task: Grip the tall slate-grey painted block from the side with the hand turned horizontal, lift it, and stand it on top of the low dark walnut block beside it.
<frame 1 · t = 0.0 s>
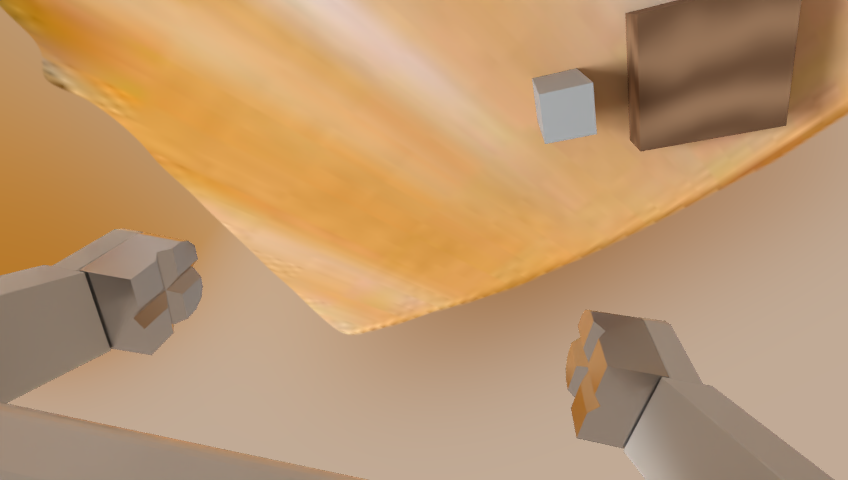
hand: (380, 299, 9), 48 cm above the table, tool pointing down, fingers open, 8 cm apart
walnut block: (694, 65, 48), on the table
slate block: (556, 95, 52), on the table
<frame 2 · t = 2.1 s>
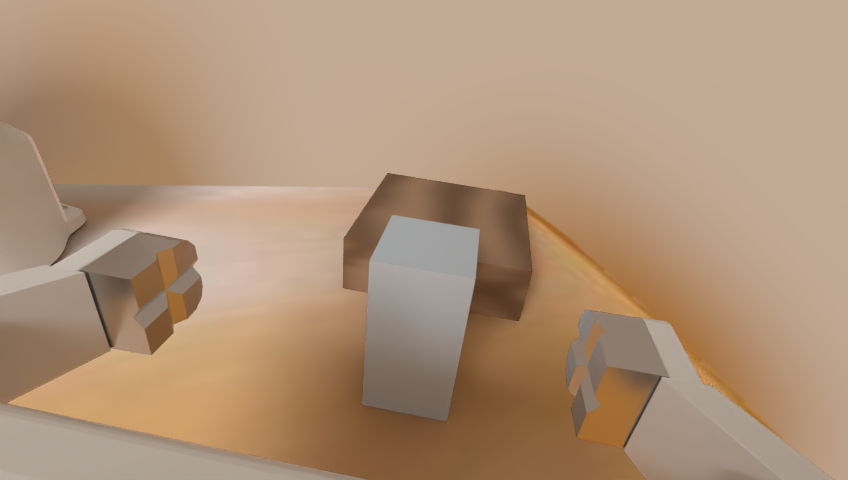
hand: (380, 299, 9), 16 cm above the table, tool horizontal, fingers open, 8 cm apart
walnut block: (440, 261, 40), on the table
slate block: (411, 380, 27), on the table
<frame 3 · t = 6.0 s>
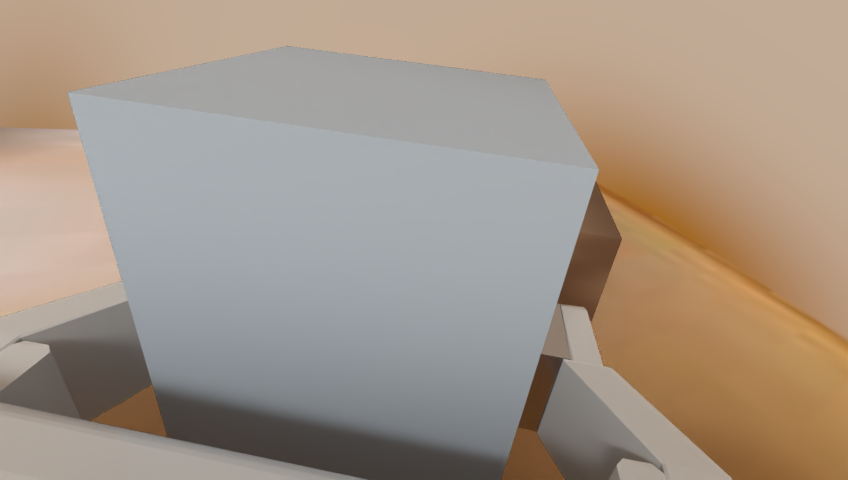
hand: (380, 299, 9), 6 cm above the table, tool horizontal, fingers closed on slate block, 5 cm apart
walnut block: (435, 235, 24), on the table
when the fingers open (11 cm above the table, at t = 12.8 s): slate block drops 1 cm, resting on walnut block.
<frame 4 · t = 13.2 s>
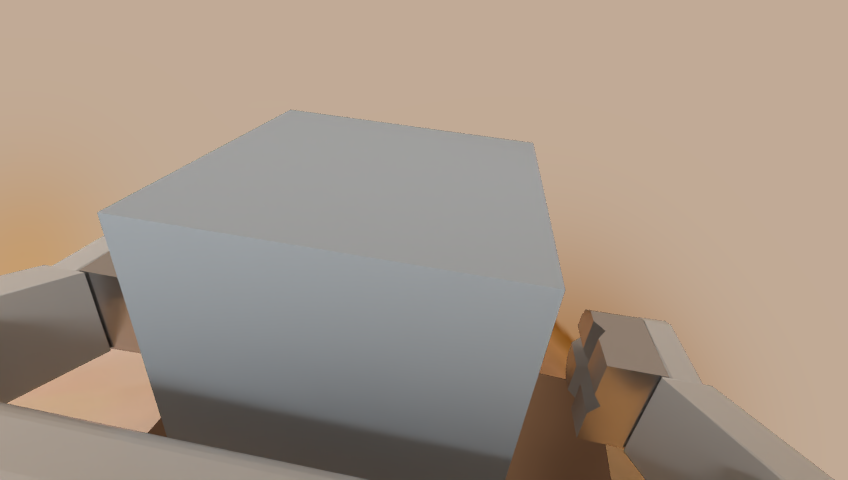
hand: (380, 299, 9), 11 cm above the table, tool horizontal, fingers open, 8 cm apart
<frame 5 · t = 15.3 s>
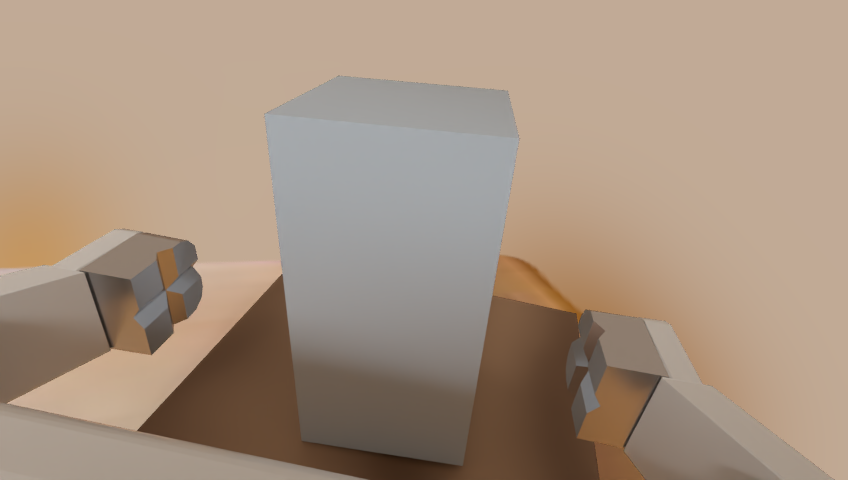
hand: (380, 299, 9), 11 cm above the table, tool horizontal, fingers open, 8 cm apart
walnut block: (384, 473, 18), on the table, touching slate block
slate block: (395, 389, 15), point 5 cm above the table, touching walnut block
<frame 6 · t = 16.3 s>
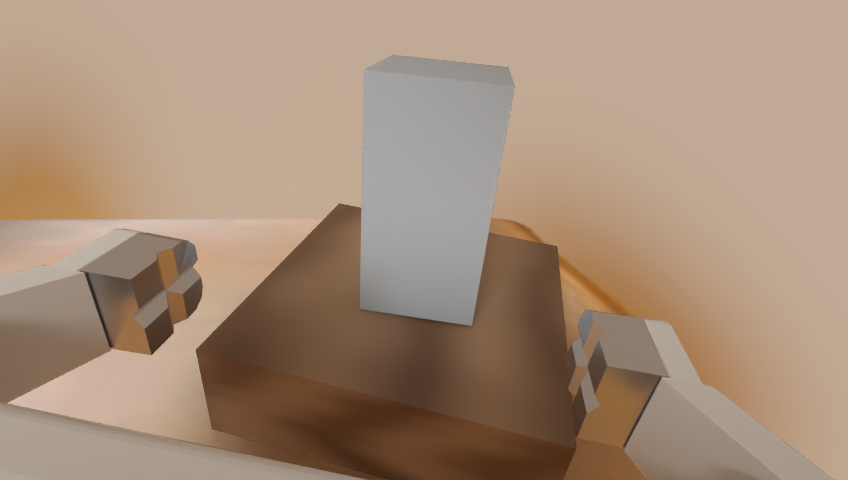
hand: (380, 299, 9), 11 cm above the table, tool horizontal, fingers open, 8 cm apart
walnut block: (410, 360, 24), on the table, touching slate block
slate block: (422, 285, 21), point 5 cm above the table, touching walnut block
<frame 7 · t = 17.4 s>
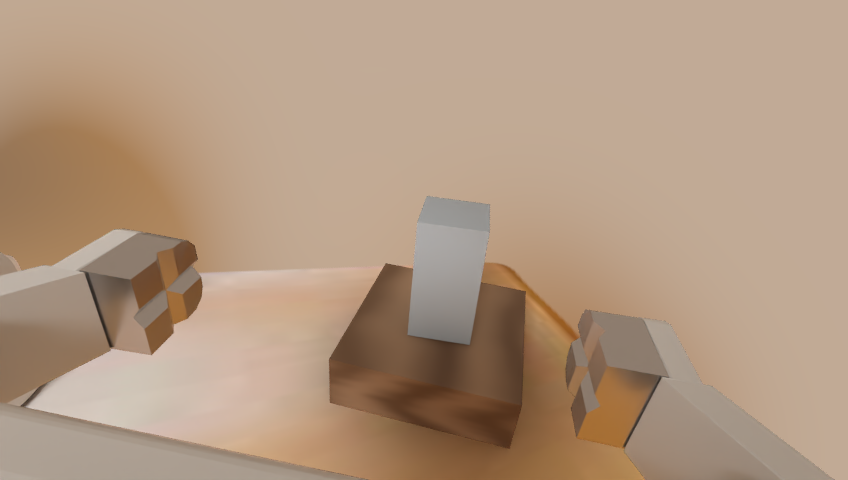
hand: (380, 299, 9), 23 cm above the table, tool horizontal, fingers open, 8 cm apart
walnut block: (434, 364, 39), on the table, touching slate block
slate block: (441, 320, 37), point 5 cm above the table, touching walnut block
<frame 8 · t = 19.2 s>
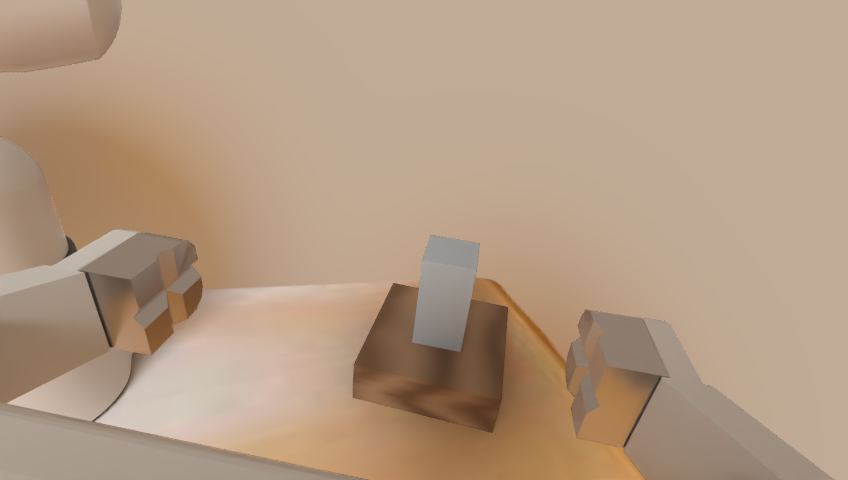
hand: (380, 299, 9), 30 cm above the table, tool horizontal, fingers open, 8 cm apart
walnut block: (434, 366, 49), on the table, touching slate block
slate block: (439, 331, 46), point 5 cm above the table, touching walnut block
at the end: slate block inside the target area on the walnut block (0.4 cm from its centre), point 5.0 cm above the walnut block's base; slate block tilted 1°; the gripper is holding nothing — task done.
